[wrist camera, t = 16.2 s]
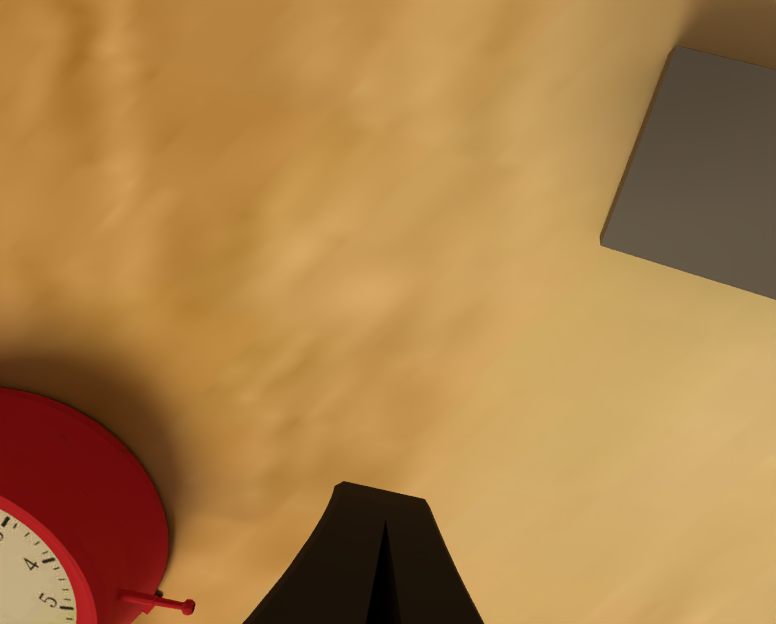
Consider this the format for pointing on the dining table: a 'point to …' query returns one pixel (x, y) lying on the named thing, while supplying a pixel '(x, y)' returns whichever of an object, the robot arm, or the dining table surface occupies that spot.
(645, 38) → the dining table surface
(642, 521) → the dining table surface
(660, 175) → the domino
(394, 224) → the dining table surface
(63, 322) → the dining table surface
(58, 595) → the alarm clock
